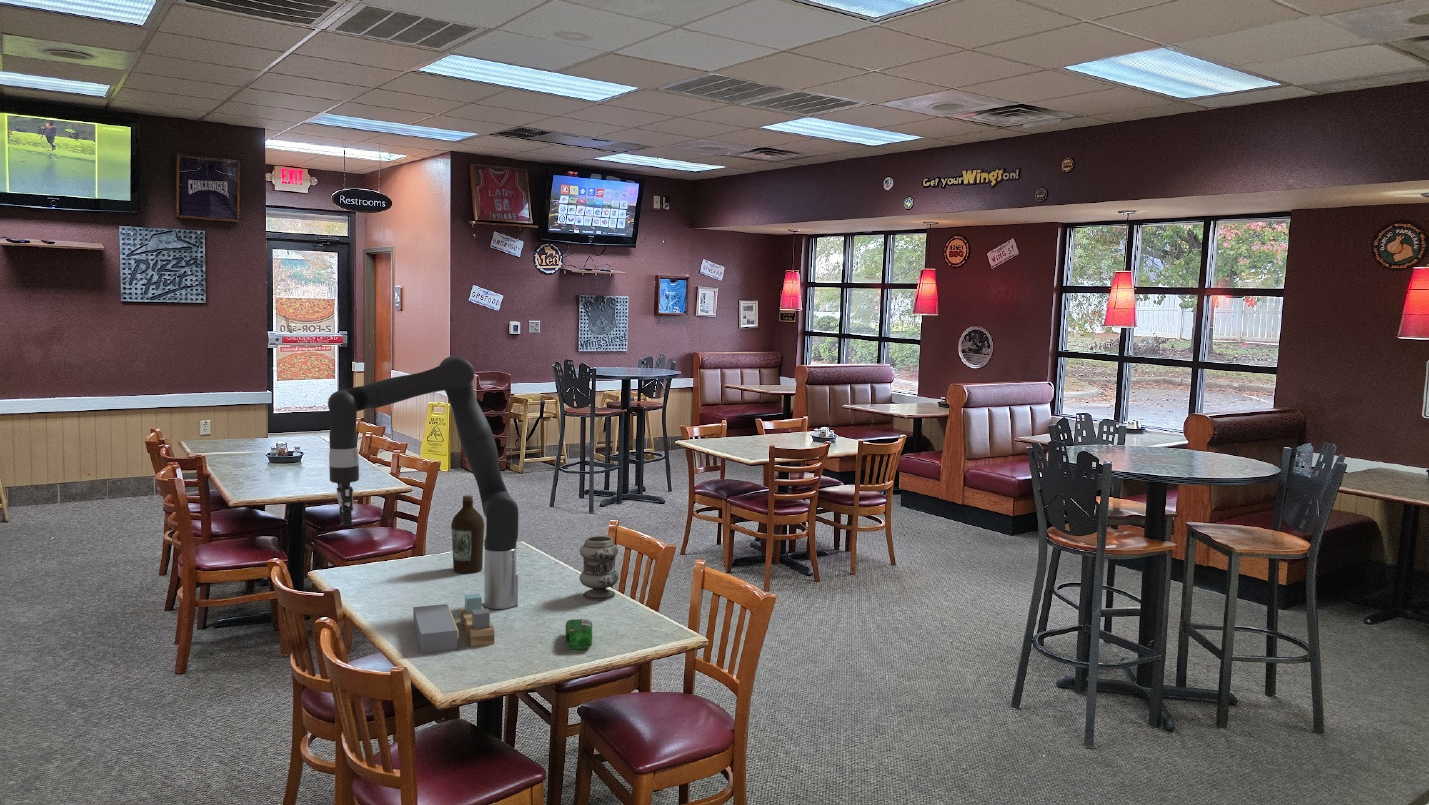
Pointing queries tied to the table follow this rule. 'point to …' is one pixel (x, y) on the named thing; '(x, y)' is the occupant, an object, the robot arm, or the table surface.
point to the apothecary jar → (599, 567)
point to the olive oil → (467, 538)
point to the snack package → (578, 633)
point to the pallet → (476, 630)
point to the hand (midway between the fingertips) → (345, 522)
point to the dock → (435, 628)
